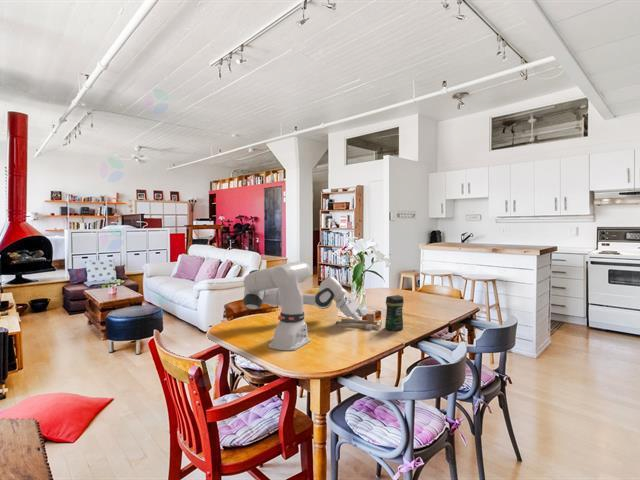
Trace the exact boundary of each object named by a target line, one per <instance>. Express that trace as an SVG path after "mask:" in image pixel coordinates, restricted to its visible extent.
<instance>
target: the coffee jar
mask: <svg viewBox="0 0 640 480" xmlns="http://www.w3.org/2000/svg"><path fill="white" fill-rule="evenodd" d="M404 303H405V302H404V296H403V295H398V294H397V295H390V296H386V299H385V305H386V313H385V322H384V327H385V329H387V330H389V331H394V332H395V331H399V330H403V328H404V318H403V307H404Z"/></svg>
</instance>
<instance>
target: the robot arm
mask: <svg viewBox="0 0 640 480" xmlns="http://www.w3.org/2000/svg"><path fill="white" fill-rule="evenodd" d="M311 275H312V269H311V266H310V265H309V264H308V263H307V262H303V261H293V262H288V263H282V264H281V265H276V266H271V267H267V268H262V269H253V270H250V272H249V273H248V274H247V275H245V277H244V278H243V287H244V290H243V291H244V292H243V298H242V300H243V301H242V302H243V305H244V307H245V308H247V309H250V310H257V309H259V308H261V307H262V305H263V304H265V305H269V306H276V307H280V308H281V309H280V314H279V315H278V317H277V320H278V321H279V322H278V324H277V326H276V329H275V330H274V333H273V338H272V340H271V341H270V342H269V344H268V348H270V349H273V350H279V351H280V350H281V351H296V350H297V349H299V348H301V347H303V346H305V345H307V344H308V343H309V342H311V338H310V337H308V325H307V322H306V321H305V311H304V305H311V306H315V307H317V308H319V309H322V310H325V309H328V308H329V307H331V305H332V302H333V301H334V302H335V304H336V305H335V307H336V308H337V309H339V310H340V312H341V313H342V314H343V315H345V317H347V319H350V318H351V319H355V320H356V321H358V320H360V318H361V317H363V315H364V314H363V312H362V311H361V308H360V307H361V304H360V303H359V302H358V301H357V300H356V299H355V298H354V297H352V296H351V294H350V292H348V291H347V290H346V289H345V288H344V287H343V285H342V284H341V283H340V282H339V281H338V280H337V278H336V277H333V276H327V277H326V278H324V279H323V280H322V281H321V282H320V286H319V288H318V291H317V292H316V293H315V294H314V293H313V294H312V293H301V292H300V290H299V289H300V288H299V284H302V283H304V282H306V281H307V280H308V279H309V278H310V277H311ZM355 312H356V313H357V314H358V316H357V315H356V313H355Z"/></svg>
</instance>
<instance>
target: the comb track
mask: <svg viewBox="0 0 640 480" xmlns="http://www.w3.org/2000/svg"><path fill="white" fill-rule="evenodd" d="M340 319H341V321H339V322H338V323H337V326H338V327H345V328H357V329H365V330H366V331H372V330H377V331H378V330H380V329H381V327H382V325H383V323H382V322H383V320H381V319H379V320H378V321H377V320H375V325H372V324H367V319H366V320H365V319H359V320H358V321H356V320H355V319H354V318H340ZM344 322H350V323H344ZM354 323H361V324H354ZM365 324H366V325H365ZM376 325H377V326H376Z"/></svg>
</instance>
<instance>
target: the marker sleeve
mask: <svg viewBox="0 0 640 480" xmlns="http://www.w3.org/2000/svg"><path fill="white" fill-rule="evenodd" d="M366 320H367V324H372V325H375V321H376V311H370V310H369V311H367V312H366Z"/></svg>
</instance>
